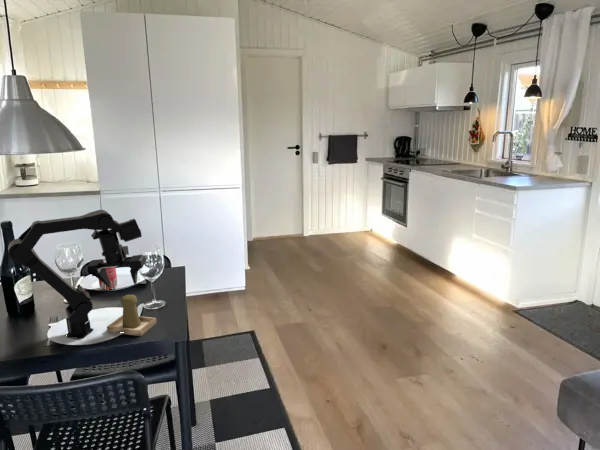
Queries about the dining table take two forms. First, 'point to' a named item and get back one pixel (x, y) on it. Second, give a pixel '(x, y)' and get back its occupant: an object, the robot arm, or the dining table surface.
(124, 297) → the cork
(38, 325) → the dining table surface
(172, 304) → the dining table surface
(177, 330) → the dining table surface
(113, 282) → the soda can
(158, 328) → the dining table surface
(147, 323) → the tray
